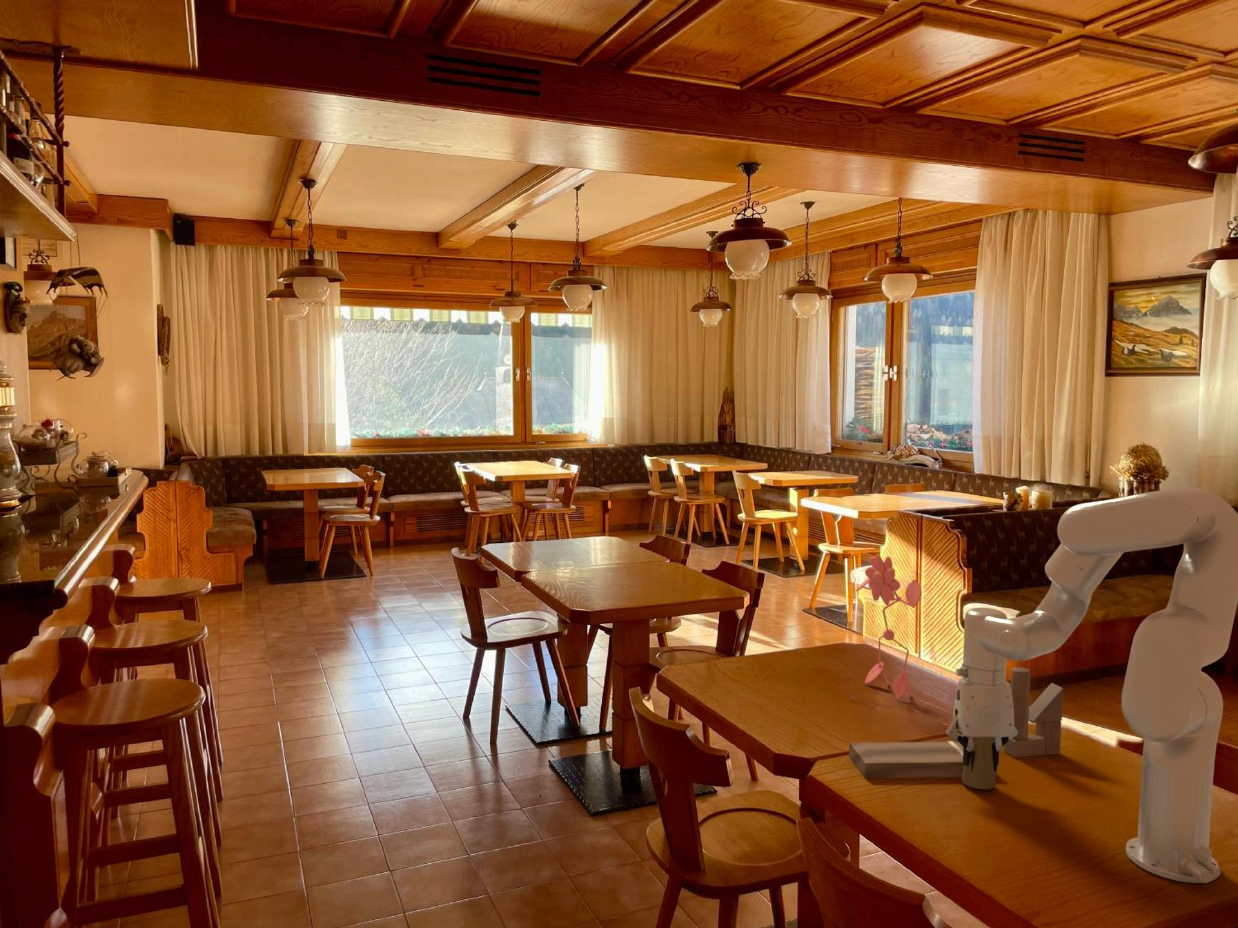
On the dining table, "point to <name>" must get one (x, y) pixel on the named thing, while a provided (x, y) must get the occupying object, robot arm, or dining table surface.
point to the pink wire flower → (884, 586)
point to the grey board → (908, 759)
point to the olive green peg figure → (981, 765)
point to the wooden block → (1035, 718)
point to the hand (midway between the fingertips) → (980, 767)
